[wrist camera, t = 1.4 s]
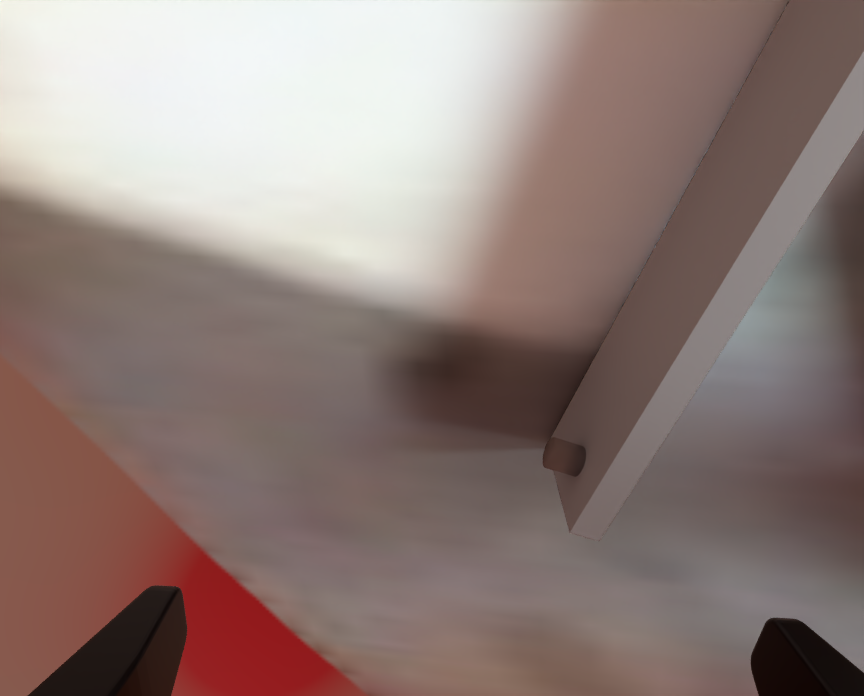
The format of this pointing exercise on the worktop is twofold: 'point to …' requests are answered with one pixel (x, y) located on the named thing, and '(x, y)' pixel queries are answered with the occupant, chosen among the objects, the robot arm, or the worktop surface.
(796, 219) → the door
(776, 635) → the robot arm
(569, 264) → the worktop surface
